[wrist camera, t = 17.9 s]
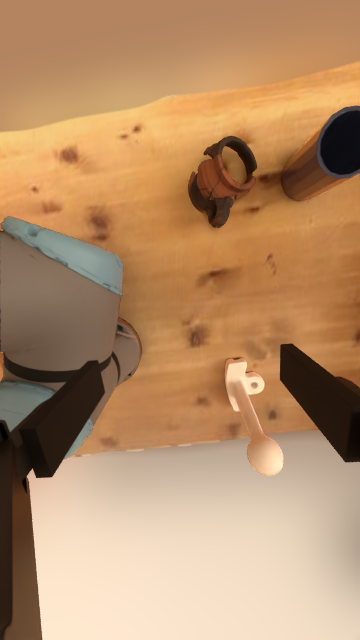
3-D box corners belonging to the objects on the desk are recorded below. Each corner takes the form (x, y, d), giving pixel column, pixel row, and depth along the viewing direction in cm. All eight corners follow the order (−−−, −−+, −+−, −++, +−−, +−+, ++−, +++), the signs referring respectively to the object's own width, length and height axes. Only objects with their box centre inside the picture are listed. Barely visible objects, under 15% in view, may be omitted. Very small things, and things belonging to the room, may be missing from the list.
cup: (280, 203, 36) (314, 182, 26) (281, 153, 34) (318, 111, 24) (325, 198, 36) (376, 174, 26) (328, 147, 34) (384, 101, 24)
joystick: (221, 359, 44) (248, 436, 25) (258, 354, 43) (315, 427, 24) (228, 405, 47) (256, 505, 27) (263, 400, 46) (317, 499, 27)
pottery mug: (182, 161, 35) (209, 118, 28) (228, 176, 39) (263, 141, 32) (185, 234, 35) (212, 210, 28) (230, 241, 39) (265, 221, 32)
